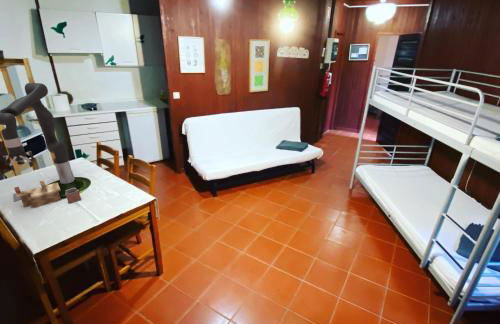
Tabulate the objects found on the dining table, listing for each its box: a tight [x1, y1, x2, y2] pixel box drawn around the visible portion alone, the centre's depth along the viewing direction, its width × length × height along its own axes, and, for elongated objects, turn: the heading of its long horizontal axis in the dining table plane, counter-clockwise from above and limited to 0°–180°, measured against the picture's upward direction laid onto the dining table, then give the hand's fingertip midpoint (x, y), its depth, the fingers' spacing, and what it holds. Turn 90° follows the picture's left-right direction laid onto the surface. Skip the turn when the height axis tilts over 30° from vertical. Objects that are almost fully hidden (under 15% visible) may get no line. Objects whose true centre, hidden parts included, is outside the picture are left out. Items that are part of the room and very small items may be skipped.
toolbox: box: [20, 191, 62, 209], centre depth 177 cm, size 20×12×8 cm, turn 131°
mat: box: [12, 192, 21, 202], centre depth 187 cm, size 18×12×1 cm, turn 131°
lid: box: [30, 180, 61, 199], centre depth 177 cm, size 16×12×6 cm
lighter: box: [64, 187, 82, 204], centre depth 179 cm, size 8×3×10 cm, turn 134°
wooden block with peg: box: [13, 186, 32, 197], centre depth 170 cm, size 8×2×6 cm, turn 131°
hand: (22, 168), depth 166 cm, fingers open, 8 cm apart
